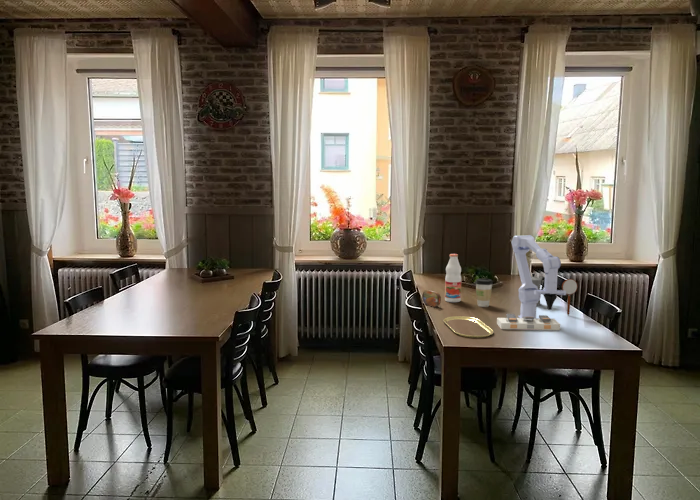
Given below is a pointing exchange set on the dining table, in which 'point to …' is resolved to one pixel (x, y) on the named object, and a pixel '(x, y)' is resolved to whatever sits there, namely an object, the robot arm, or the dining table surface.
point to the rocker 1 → (511, 317)
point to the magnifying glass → (569, 290)
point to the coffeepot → (538, 283)
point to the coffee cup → (483, 291)
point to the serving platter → (471, 320)
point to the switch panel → (528, 324)
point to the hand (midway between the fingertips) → (549, 309)
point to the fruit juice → (453, 280)
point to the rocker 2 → (544, 318)
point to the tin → (431, 298)
